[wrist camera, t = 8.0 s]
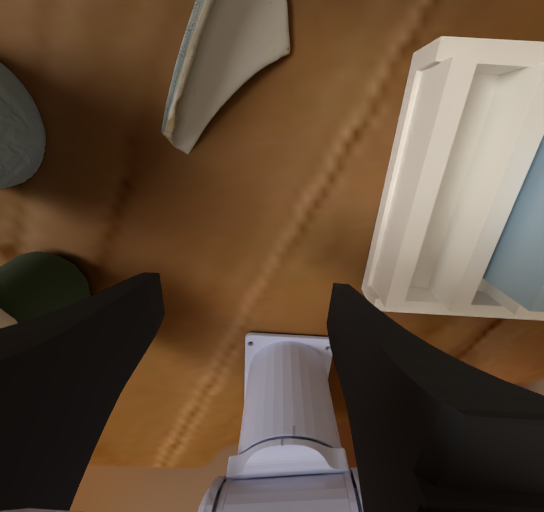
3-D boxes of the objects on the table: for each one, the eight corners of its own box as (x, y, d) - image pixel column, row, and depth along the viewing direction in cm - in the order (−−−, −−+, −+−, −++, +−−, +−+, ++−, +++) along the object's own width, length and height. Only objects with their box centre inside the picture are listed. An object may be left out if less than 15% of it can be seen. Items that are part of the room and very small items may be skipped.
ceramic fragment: (260, -134, 13) (252, -229, 10) (347, -62, 14) (368, -125, 11) (163, 138, 19) (135, 140, 15) (230, 177, 19) (218, 187, 16)
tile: (487, 264, 20) (566, 313, 15) (460, 262, 20) (529, 311, 15) (545, 130, 16) (679, 129, 11) (511, 128, 16) (629, 126, 11)
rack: (542, 299, 22) (594, 331, 19) (361, 289, 22) (377, 319, 19) (671, 67, 16) (789, 47, 12) (413, 53, 16) (453, 28, 12)
